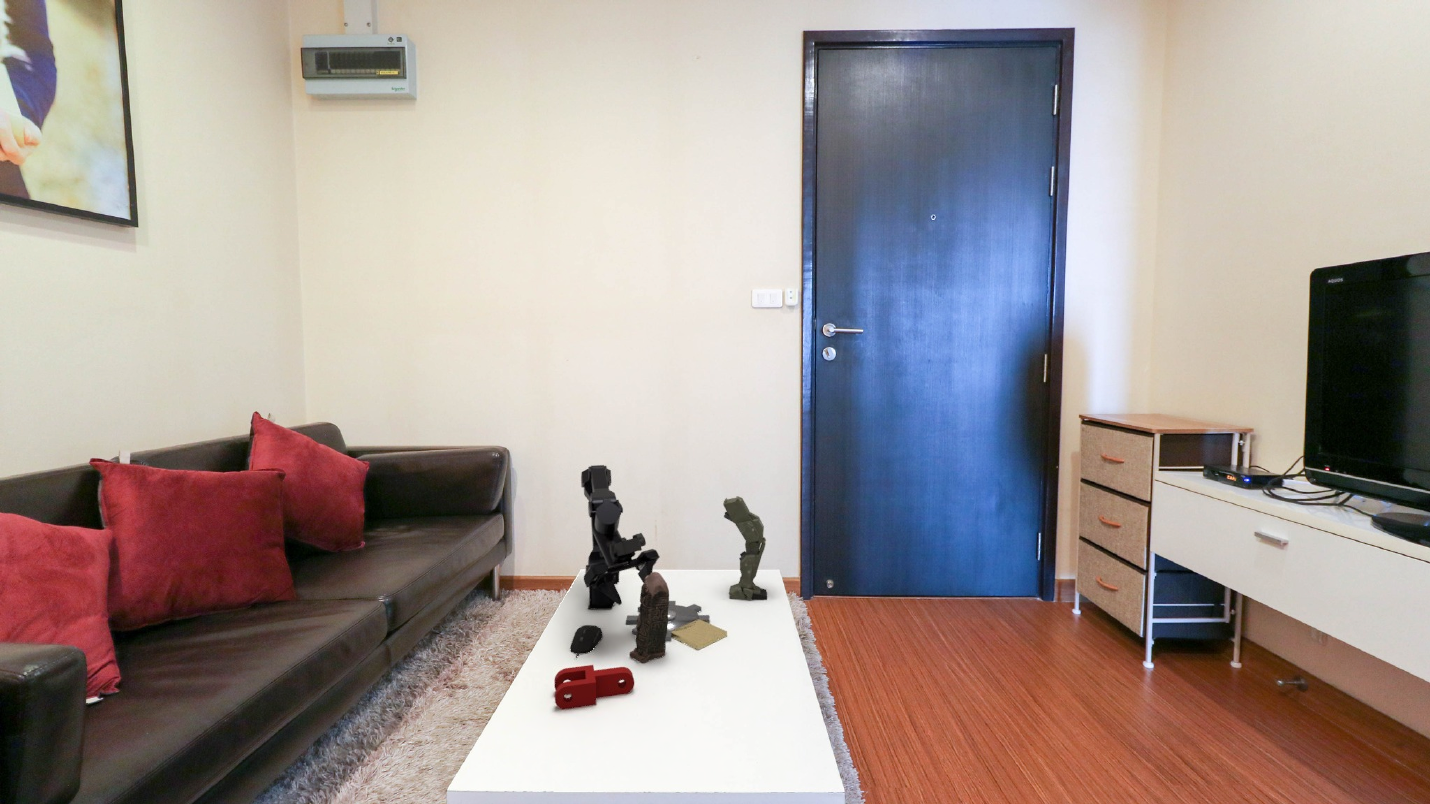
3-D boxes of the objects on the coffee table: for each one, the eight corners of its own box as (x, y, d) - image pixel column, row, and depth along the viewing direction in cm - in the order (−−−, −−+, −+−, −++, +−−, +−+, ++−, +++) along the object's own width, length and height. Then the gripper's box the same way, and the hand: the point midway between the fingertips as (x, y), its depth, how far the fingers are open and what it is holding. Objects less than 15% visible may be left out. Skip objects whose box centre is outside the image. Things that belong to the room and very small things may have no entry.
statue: (649, 646, 151) (648, 565, 149) (671, 655, 147) (670, 572, 145) (628, 657, 146) (627, 573, 144) (650, 667, 142) (649, 580, 140)
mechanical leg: (779, 589, 184) (755, 489, 182) (779, 599, 177) (754, 495, 175) (733, 598, 186) (709, 500, 184) (731, 608, 178) (706, 506, 176)
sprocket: (609, 622, 164) (609, 614, 164) (671, 598, 179) (671, 591, 179) (679, 658, 145) (679, 649, 145) (742, 628, 161) (742, 620, 160)
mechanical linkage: (555, 712, 125) (554, 688, 124) (554, 692, 132) (554, 669, 131) (636, 700, 129) (635, 676, 129) (631, 682, 136) (631, 659, 135)
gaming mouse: (561, 661, 145) (560, 644, 145) (581, 632, 160) (581, 616, 159) (588, 662, 144) (587, 646, 144) (605, 633, 159) (605, 617, 159)
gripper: (588, 531, 145) (616, 592, 138) (654, 516, 157) (683, 571, 150) (572, 557, 151) (597, 616, 144) (636, 540, 164) (663, 594, 157)
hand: (637, 598), depth 149 cm, fingers open, 9 cm apart
